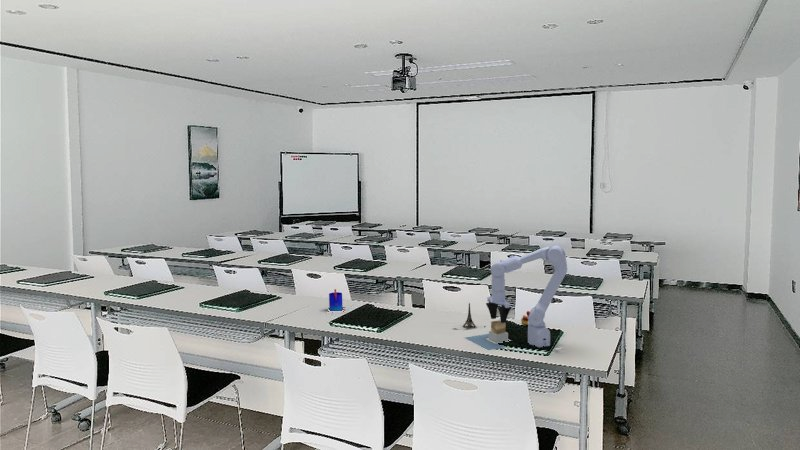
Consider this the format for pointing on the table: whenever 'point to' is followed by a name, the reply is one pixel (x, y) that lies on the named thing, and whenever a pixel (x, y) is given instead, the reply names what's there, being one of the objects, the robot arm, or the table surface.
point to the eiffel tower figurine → (469, 322)
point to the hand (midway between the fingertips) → (498, 320)
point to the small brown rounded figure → (525, 318)
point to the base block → (498, 337)
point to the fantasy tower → (335, 301)
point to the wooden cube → (498, 327)
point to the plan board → (485, 342)
